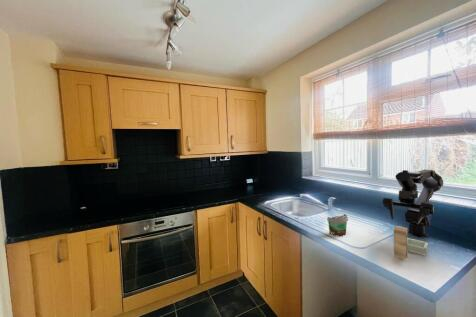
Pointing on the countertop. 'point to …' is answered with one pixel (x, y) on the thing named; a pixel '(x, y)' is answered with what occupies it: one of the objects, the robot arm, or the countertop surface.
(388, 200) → the robot arm
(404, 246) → the slat
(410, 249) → the end cap
